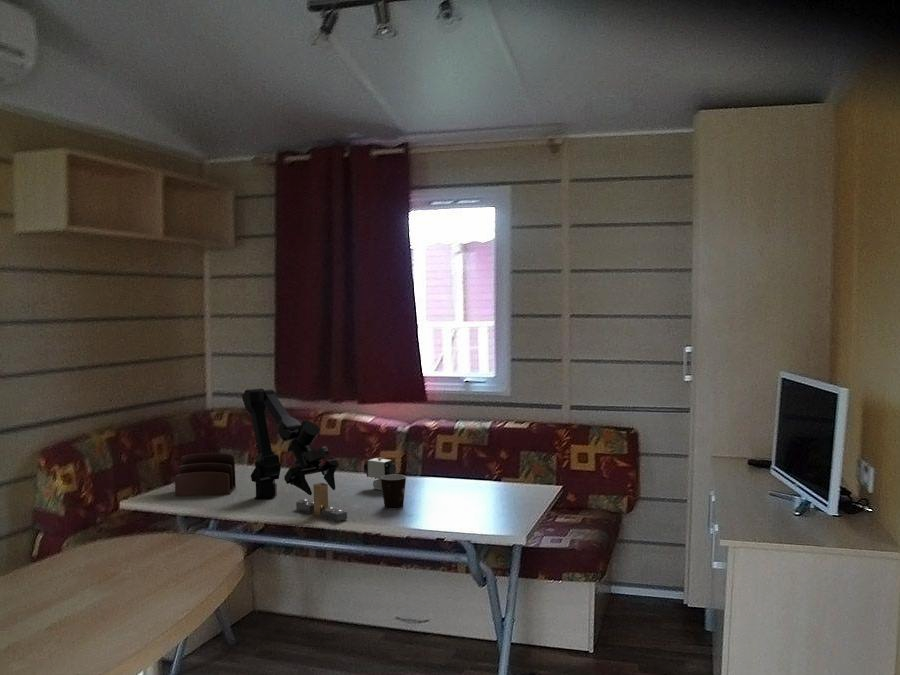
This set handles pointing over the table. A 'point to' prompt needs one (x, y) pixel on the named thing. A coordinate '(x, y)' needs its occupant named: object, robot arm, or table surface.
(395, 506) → the coffee mug
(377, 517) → the table surface
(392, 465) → the pneumatic valve
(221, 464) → the letter holder
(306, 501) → the chain ends
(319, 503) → the tall brown post
